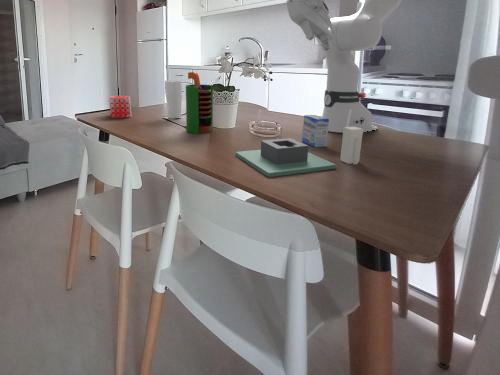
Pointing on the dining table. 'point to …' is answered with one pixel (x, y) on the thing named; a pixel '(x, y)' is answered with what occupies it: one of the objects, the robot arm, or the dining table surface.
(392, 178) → the dining table surface
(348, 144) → the keyed plug
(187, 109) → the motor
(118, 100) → the puzzle cube
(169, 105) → the drinking glass
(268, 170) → the socket board
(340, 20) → the robot arm
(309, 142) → the medicine box
